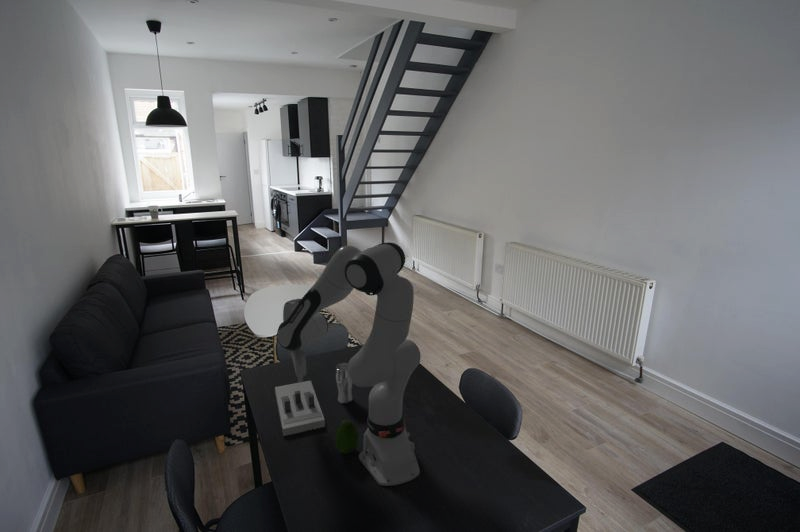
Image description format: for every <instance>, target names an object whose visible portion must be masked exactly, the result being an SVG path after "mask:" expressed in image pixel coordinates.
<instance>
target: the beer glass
mask: <svg viewBox="0 0 800 532" xmlns="http://www.w3.org/2000/svg"><path fill="white" fill-rule="evenodd" d="M348 364H349V362H342V363H338V364H337V365H336V366H335V380H336V381H335V382H336V386H337V392H338V396H337V397H338V398H337V401H338V402H339V403H340V404H344V403H345V404H349V403H351V402H352V401H353V394H352V393H353V392H352V389H353V384H354V383H353V382H352V381H351V379H350V377H349V375H348Z"/></svg>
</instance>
